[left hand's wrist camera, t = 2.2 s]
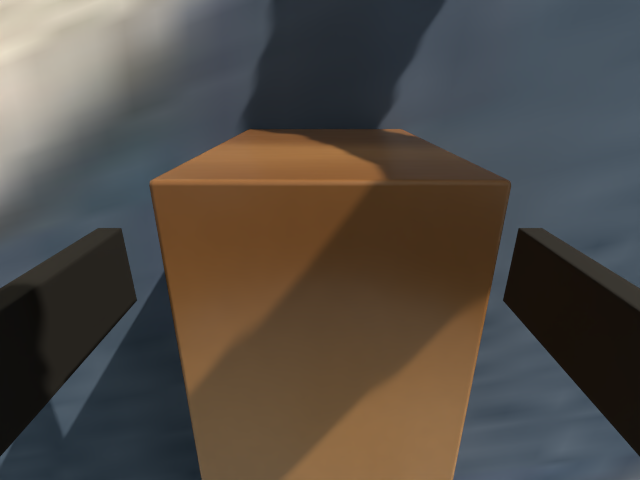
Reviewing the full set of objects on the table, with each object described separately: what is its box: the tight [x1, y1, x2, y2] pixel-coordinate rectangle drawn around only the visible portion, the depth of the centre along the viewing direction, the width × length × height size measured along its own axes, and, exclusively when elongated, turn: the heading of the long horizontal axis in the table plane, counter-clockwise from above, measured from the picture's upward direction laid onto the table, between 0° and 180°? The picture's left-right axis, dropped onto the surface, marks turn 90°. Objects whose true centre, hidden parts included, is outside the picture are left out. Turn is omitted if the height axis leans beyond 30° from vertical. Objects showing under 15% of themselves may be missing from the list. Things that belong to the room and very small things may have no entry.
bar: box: [150, 129, 511, 480], centre depth 14 cm, size 23×6×8 cm, turn 0°
